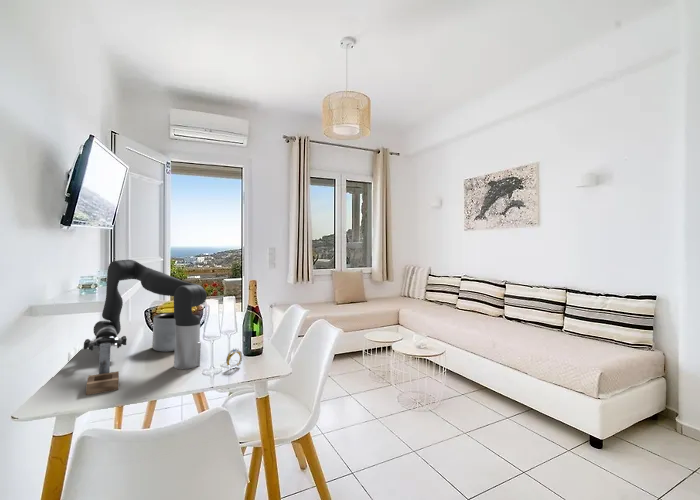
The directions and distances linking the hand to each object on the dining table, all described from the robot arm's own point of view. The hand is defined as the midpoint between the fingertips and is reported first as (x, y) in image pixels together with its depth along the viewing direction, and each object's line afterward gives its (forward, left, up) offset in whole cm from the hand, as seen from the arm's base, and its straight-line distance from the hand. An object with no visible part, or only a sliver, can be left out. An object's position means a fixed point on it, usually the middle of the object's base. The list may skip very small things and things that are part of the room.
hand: (105, 346), depth 134 cm
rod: (0, +11, -8) cm, 14 cm away
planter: (-26, -17, -8) cm, 32 cm away
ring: (-44, +25, -8) cm, 51 cm away
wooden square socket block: (0, +23, -8) cm, 25 cm away
